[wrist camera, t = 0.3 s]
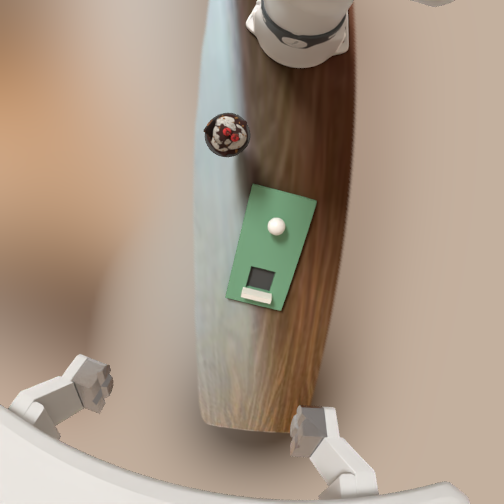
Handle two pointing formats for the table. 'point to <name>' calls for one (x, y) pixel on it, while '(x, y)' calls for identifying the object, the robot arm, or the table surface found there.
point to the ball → (276, 226)
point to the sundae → (227, 135)
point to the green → (269, 247)
